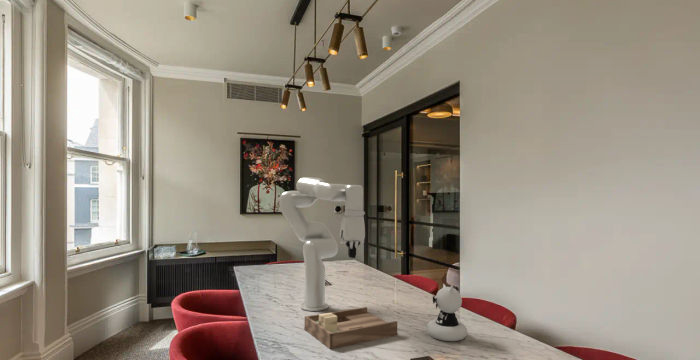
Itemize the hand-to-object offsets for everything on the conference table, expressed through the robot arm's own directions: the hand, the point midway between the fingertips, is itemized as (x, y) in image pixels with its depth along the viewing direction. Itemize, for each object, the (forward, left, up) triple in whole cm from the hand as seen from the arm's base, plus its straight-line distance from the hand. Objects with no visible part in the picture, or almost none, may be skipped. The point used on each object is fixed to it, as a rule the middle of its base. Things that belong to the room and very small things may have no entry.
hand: (352, 257), depth 163 cm
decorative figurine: (+33, +22, -26) cm, 48 cm away
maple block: (+14, -18, -23) cm, 32 cm away
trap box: (+13, -8, -26) cm, 30 cm away
